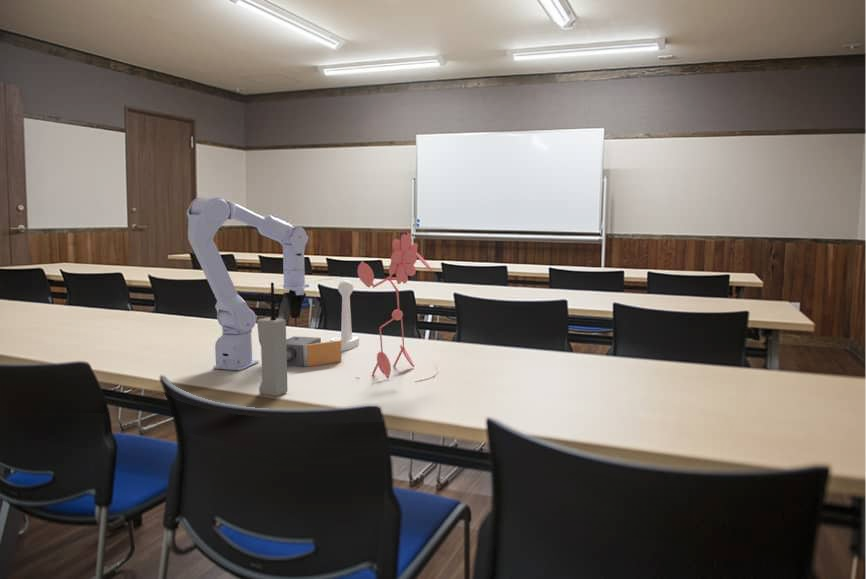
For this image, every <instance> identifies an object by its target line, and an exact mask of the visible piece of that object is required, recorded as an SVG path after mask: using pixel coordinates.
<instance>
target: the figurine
mask: <svg viewBox="0 0 866 579" xmlns="http://www.w3.org/2000/svg"><path fill="white" fill-rule="evenodd" d="M412 243H413V240H412V234H411V233H407V234H404V233H403V234H402V235H401V236H400V239H398V238H395V239H394V240H392V243H391V246H392V249H393V250H392V251H393V252H392V254H391V256H390V264H389V268H388V274H389V276H387V277H386V278H384V279H383V280H380V281H379V282H377V283H375V284H374V280H375V274H374V272H373V269H372V268H371V267H370V265H369V264H367V263H365V262H364V260H362V261H361V262H360V264H358V266H357V276H358V278H359V280H360V282H362V284H364V285H365V286H366V287H367V288H370V287H372V288H373V289H374V288H376V287H377V286H380V285H381V284H383V283H385V282H387V281H388V282H390V283H391V285H392V287H393V288H394V289H395V292H396V302H397V303H396V304H397V309H394V310H393V311H392V312H391V317H392V318H391V319H390V320H388V321H387V322H385V323H384V324H382V325H381V326H380V327H379V338H380V351H379V352H378V353H377V354H376V355H377V356H376V362H377V363H376V365H375V366H374V369H373V371H372V375H375V373H376V371H377V369H378V368H379V370H380V372H381V373H382V374H383V375H384V376H385V377H386V379H387V380H388V379H389V378H390V375H391V371H392V368H391V367H394V368H396V366H397V364H398V363H399V362H398V361H399V359H400V358H401V355H402V354H403V355H404V357H405V358H406V360H407V361H408V363H409V364H410V365H411V366H412V367H413V368H414V367H415V365H414V363H413V361H412V358H411V357H410V355H409V353H408V352H407V350H406V348H405V340H404V339H405V338H404V324H403V323H404V322H403V316H404V314H403V311H402V310H401V309H400V296H399V295H400V293H399V289H398V287H397V286H396V285H395V283H394V282H393V281H395V280H396V284H397V285H401V283H403V284H407V283H408V279H409V278H408V276H409V277H413V276H415V275H416V272H417V270H416V267H415V264H416V262H417V260H420V262H421V263H422V264H423V265H424V266H425V268H427V269H429V271H431V272H434V270H433V269H432V267H431V266H430V265H429V263H428V262H427V261H426V260H425V259H424V257H422V255H420V253H419V252H418V249H419V248H418V243H417V242H415V243H413V244H412ZM394 274H395V277H392V276H393V275H394ZM394 320H395V321H400V324H401V325H400V326H401V337H402V344H400V345H399V347H400V351H399V353H398V355H397V357H396V359H395V361H394V364H393V366H391V361H390V360H389V357H388V355H387V354H386V353H385V352H383V351H384V349H383V341H382V340H383V339H382V338H383V337H382V336H383V335H382V328H383V327H385V326H386V325H388V324H389V323H392V321H394ZM434 368H435V369H436V370H438V368H437V367H436V366H434ZM438 373H439V372H436V374H435V375H433V376H431V377H429V378H424V379H420V380H419V382H422V381H426V380H429V379H434V378H435V376H436V375H438ZM355 378H356V379H358V380H360V378H359V377H355ZM414 382H415V383H416V382H418V380H416V381H414Z"/></svg>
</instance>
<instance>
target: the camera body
mask: <svg viewBox="0 0 866 579" xmlns="http://www.w3.org/2000/svg"><path fill="white" fill-rule="evenodd" d="M316 343H322V341H321V337H311V336H299V335H295V336H292V337H289V338H286V350H287V366H297V367H298V366H299V367H304V354H303V345H308V344H316Z"/></svg>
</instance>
